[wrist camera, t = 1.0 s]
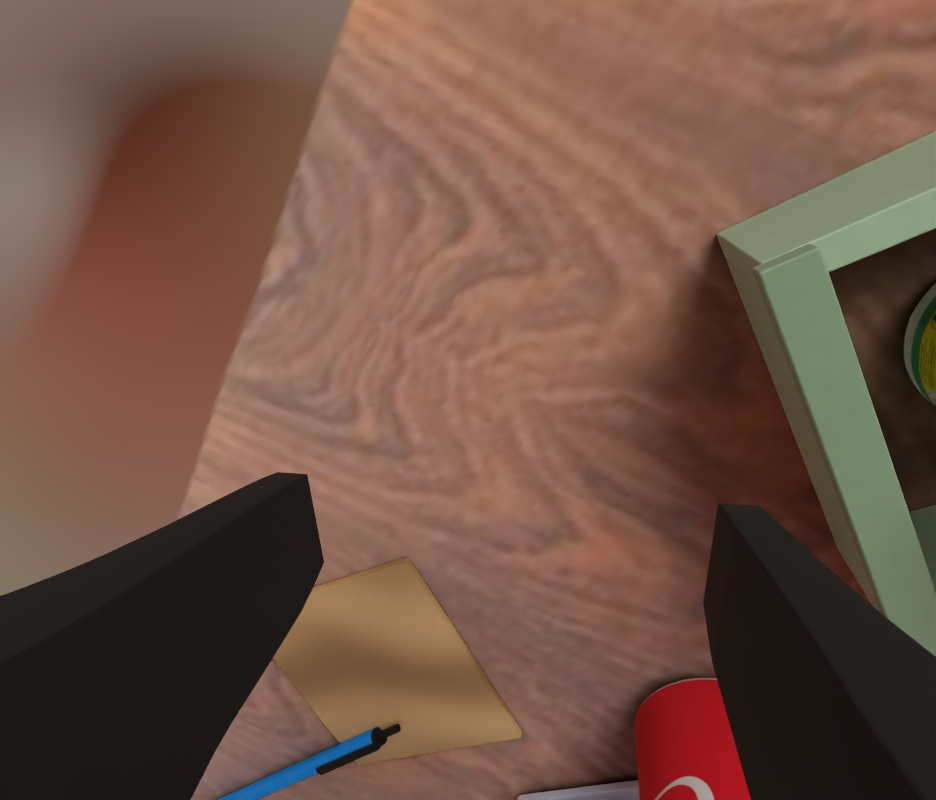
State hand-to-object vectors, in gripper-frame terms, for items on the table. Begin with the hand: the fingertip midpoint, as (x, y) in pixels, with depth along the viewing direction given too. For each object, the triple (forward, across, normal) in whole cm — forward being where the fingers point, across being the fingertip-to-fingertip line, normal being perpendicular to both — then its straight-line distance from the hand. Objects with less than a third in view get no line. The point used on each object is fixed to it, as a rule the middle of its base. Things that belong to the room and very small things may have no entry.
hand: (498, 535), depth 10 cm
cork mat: (+10, +8, +16) cm, 21 cm away
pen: (+10, +15, +26) cm, 31 cm away
